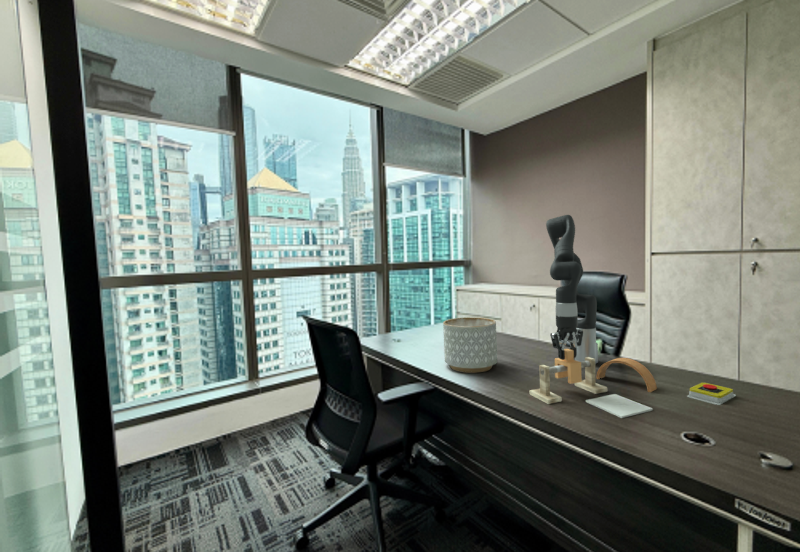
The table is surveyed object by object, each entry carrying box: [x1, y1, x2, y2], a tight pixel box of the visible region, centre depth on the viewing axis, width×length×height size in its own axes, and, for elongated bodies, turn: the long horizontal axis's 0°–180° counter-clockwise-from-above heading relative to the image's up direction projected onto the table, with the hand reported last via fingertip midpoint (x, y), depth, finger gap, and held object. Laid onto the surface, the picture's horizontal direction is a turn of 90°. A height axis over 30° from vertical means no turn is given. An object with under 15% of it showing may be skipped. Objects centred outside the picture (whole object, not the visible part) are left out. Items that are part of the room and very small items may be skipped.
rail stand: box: [529, 357, 608, 405], centre depth 134 cm, size 28×10×12 cm, turn 109°
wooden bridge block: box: [554, 348, 583, 385], centre depth 134 cm, size 5×8×12 cm, turn 19°
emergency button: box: [686, 381, 736, 406], centre depth 125 cm, size 9×4×15 cm
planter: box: [442, 316, 498, 374], centre depth 172 cm, size 26×26×22 cm
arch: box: [595, 357, 658, 393], centre depth 141 cm, size 6×20×10 cm, turn 33°
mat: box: [585, 393, 654, 419], centre depth 121 cm, size 14×14×1 cm
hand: (567, 358), depth 134 cm, fingers open, 5 cm apart
